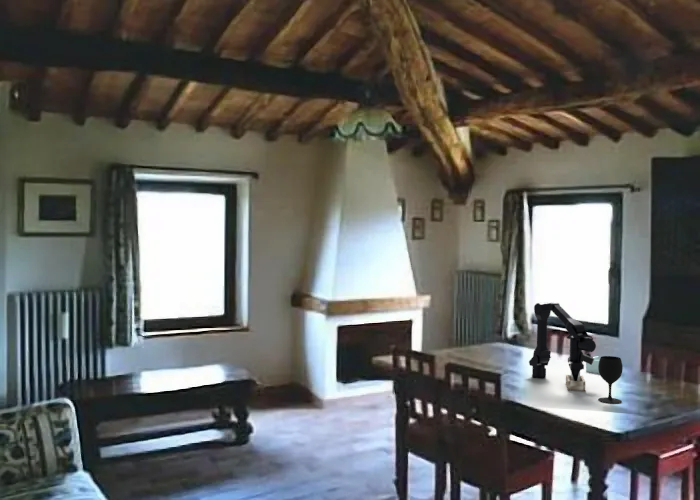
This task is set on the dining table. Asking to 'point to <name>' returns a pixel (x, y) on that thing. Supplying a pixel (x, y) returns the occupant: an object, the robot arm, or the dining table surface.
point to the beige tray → (575, 384)
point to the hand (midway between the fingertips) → (575, 379)
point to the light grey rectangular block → (573, 378)
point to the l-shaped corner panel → (593, 365)
